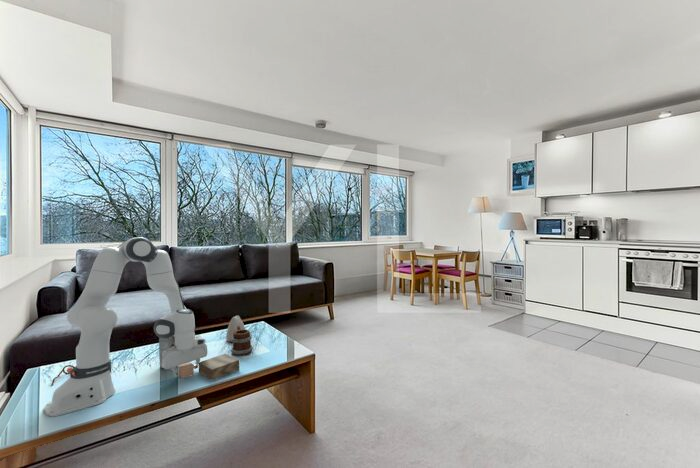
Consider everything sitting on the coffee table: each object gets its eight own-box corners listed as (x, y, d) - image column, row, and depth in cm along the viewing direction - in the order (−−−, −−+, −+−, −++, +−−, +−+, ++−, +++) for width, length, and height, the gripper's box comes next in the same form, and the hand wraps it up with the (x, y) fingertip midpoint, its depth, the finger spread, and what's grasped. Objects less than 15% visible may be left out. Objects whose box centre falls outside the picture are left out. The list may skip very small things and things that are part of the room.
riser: (212, 380, 150) (212, 369, 150) (198, 372, 158) (198, 362, 158) (239, 369, 161) (239, 359, 160) (225, 363, 169) (225, 353, 169)
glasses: (96, 370, 163) (95, 360, 163) (85, 382, 151) (85, 371, 151) (63, 375, 158) (63, 365, 158) (50, 387, 146) (49, 376, 146)
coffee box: (172, 360, 173) (171, 330, 173) (182, 361, 172) (182, 331, 172) (159, 367, 164) (158, 336, 164) (170, 368, 163) (169, 337, 163)
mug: (233, 358, 174) (231, 329, 176) (228, 354, 186) (227, 327, 188) (255, 353, 180) (253, 326, 182) (249, 350, 192) (247, 324, 194)
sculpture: (232, 335, 212) (231, 312, 212) (249, 335, 211) (249, 313, 211) (222, 342, 199) (222, 318, 199) (241, 342, 198) (240, 318, 198)
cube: (183, 378, 152) (182, 368, 152) (178, 375, 155) (178, 365, 155) (193, 374, 156) (193, 364, 156) (188, 372, 159) (188, 361, 159)
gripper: (164, 351, 145) (165, 381, 146) (208, 338, 161) (209, 366, 161) (159, 348, 149) (159, 377, 149) (202, 336, 165) (203, 362, 165)
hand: (185, 371), depth 156 cm, fingers open, 8 cm apart
